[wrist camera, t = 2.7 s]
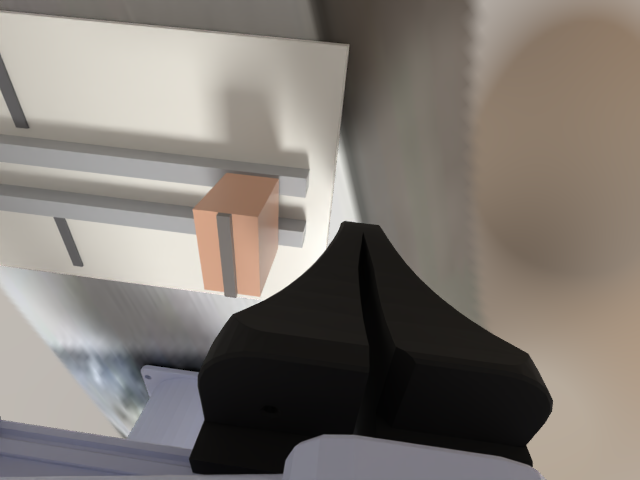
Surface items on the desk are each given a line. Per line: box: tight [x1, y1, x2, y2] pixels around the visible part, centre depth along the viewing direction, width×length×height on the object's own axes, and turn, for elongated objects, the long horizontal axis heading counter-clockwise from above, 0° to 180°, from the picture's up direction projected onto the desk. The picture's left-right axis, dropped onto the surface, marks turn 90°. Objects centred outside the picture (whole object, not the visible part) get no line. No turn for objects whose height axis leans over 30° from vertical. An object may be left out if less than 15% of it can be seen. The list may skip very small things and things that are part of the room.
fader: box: [192, 173, 279, 298], centre depth 12 cm, size 3×2×4 cm, turn 176°
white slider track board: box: [0, 10, 350, 300], centre depth 15 cm, size 12×18×3 cm, turn 86°
